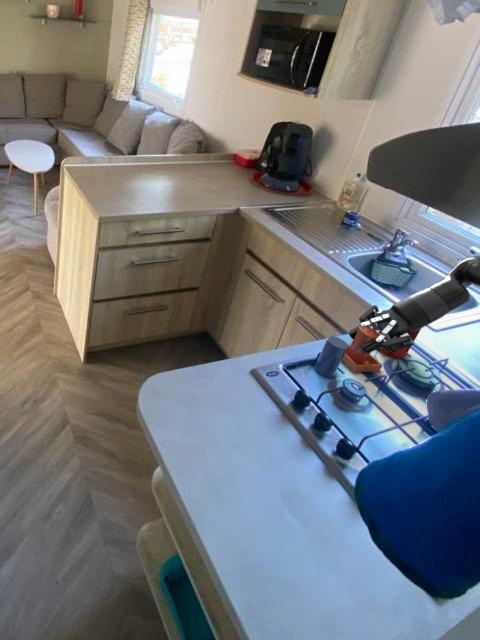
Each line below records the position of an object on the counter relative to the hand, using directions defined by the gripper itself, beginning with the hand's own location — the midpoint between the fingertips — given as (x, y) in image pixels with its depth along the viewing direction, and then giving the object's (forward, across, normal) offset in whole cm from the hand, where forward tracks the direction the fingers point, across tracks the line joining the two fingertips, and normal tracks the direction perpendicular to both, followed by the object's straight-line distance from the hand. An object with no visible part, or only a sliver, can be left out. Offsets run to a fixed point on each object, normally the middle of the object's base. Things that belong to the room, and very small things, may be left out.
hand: (356, 343), depth 109 cm
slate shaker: (+11, +5, -3) cm, 12 cm away
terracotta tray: (+3, 0, +5) cm, 6 cm away
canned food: (-7, -6, +16) cm, 18 cm away
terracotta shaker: (+2, 0, +5) cm, 5 cm away
